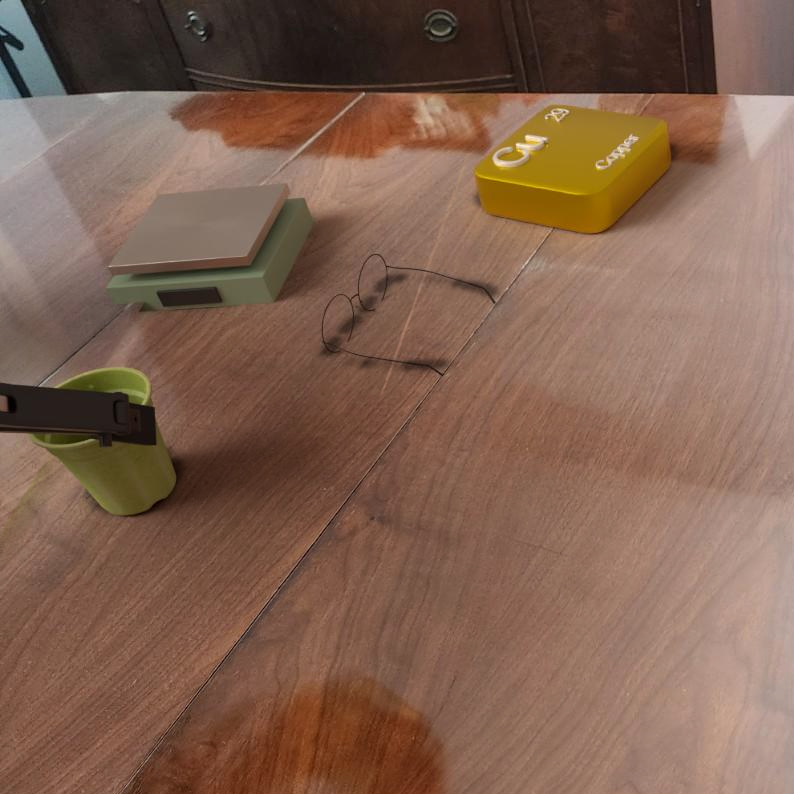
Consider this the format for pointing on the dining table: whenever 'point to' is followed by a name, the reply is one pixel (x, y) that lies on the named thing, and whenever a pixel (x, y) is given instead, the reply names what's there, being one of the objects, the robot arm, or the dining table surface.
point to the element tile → (574, 168)
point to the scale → (224, 272)
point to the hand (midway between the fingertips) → (65, 430)
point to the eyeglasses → (381, 300)
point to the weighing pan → (201, 230)
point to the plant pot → (115, 450)
